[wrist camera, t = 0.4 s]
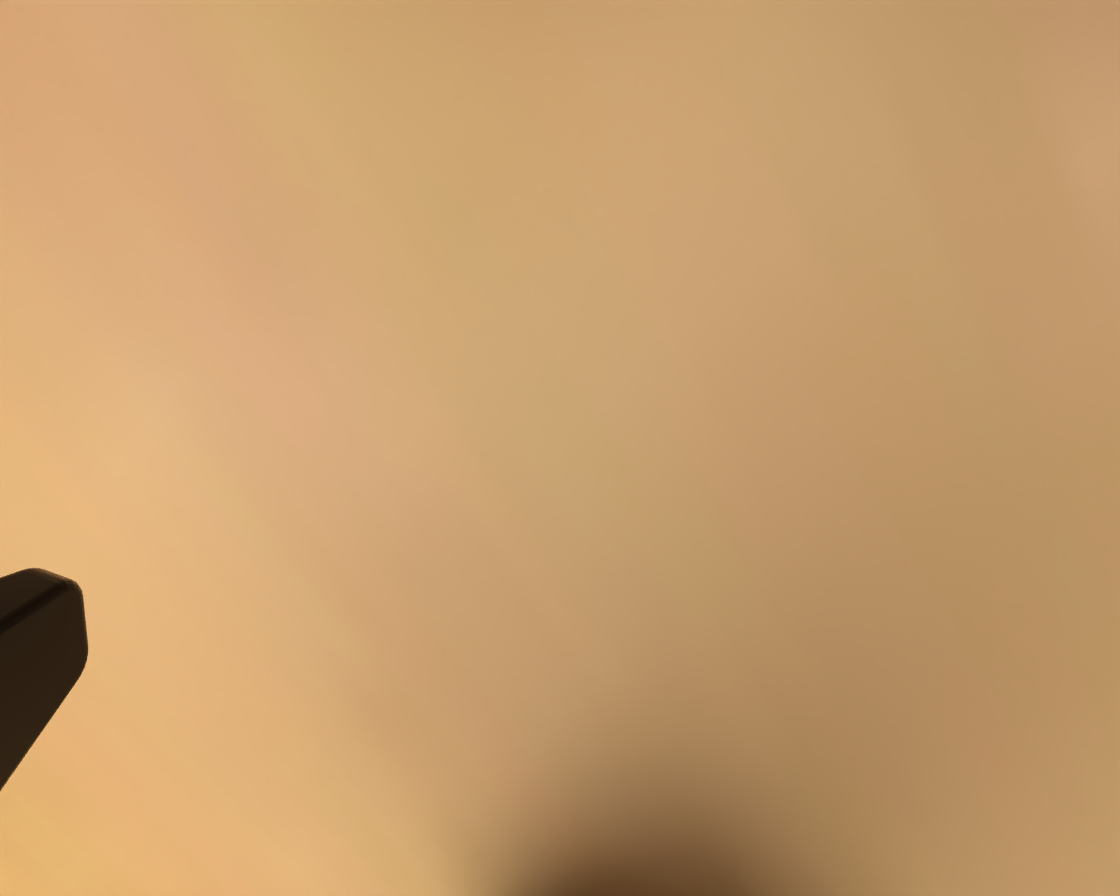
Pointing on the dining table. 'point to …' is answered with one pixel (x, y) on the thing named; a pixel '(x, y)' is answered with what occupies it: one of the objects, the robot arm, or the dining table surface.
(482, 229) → the dining table surface
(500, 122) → the dining table surface
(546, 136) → the dining table surface
